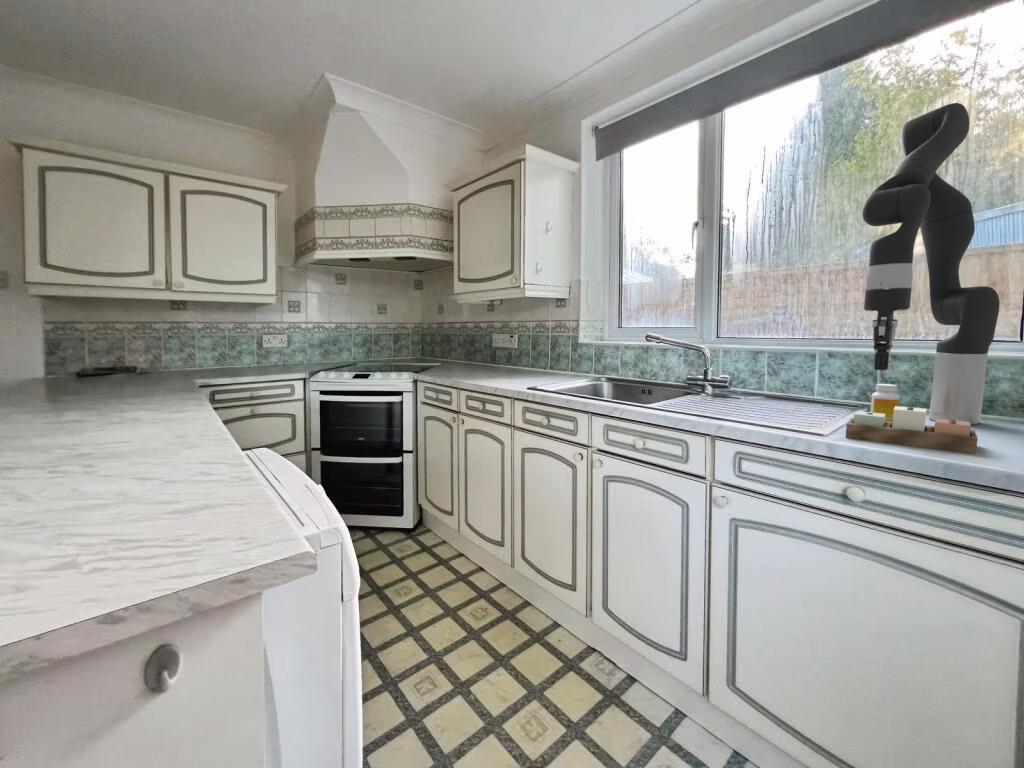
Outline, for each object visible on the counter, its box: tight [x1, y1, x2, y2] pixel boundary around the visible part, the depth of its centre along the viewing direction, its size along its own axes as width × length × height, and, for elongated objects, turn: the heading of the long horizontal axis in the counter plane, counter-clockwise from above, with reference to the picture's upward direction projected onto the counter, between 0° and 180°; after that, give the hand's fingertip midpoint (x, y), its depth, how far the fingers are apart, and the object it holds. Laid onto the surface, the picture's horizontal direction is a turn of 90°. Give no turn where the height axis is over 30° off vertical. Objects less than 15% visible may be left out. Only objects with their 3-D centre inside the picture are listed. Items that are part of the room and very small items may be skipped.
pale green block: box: [853, 410, 885, 427], centre depth 100 cm, size 5×5×4 cm
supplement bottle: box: [869, 383, 900, 422], centre depth 113 cm, size 5×5×10 cm
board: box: [845, 417, 979, 455], centre depth 96 cm, size 20×9×3 cm, turn 48°
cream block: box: [892, 406, 927, 431], centre depth 95 cm, size 5×5×4 cm
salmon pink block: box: [933, 419, 972, 436], centre depth 91 cm, size 5×5×4 cm
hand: (880, 369), depth 98 cm, fingers closed
